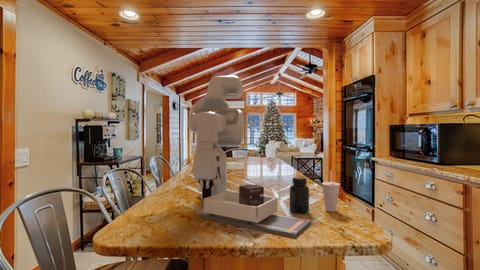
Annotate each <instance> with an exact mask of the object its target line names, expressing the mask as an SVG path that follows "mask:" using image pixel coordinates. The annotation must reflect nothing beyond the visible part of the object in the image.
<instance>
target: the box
mask: <svg viewBox="0 0 480 270" xmlns="http://www.w3.org/2000/svg"><path fill="white" fill-rule="evenodd" d="M238 186H239V187H238V192H239V204H243V205H249V206H255V207H257V206H259V205H261V204H263V203H264V196H265V190H264V189H265V186H262V185H259V184H255V183H253V184H252V183H251V184H242V185H241V184H240V185H238Z"/></svg>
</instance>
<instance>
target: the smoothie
mask: <svg viewBox="0 0 480 270" xmlns="http://www.w3.org/2000/svg"><path fill="white" fill-rule="evenodd" d="M329 173H330V174H329V175H330V177H329V178H330V179H329V181H325V182H322V183H321V186H322V191H323V193H322V194H323V200H324V209H325V211H327V212H336V211H337V208H338V201H339V199H338V198H339V193H340V188H341V183H338V182H334V181H333V171H329Z"/></svg>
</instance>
